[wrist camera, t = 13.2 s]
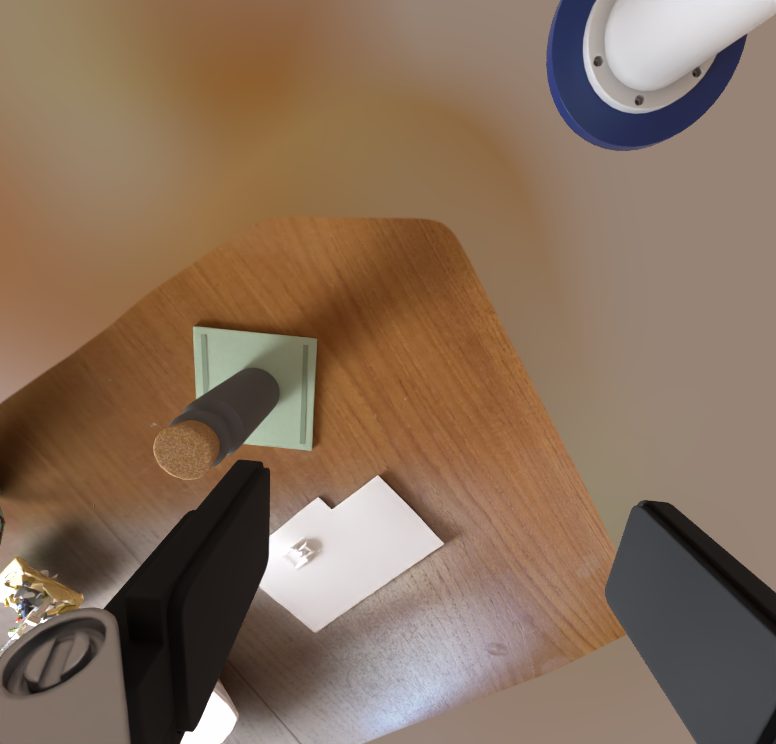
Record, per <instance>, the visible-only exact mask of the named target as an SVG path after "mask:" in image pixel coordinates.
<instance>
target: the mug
mask: <svg viewBox="0 0 776 744" xmlns="http://www.w3.org/2000/svg"><path fill="white" fill-rule="evenodd" d="M0 493H1V489H0ZM4 526H5V520H4V517H3V514H2V511H1V508H0V544H1V540H2V535H3V531H4Z"/></svg>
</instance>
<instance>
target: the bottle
mask: <svg viewBox="0 0 776 744" xmlns="http://www.w3.org/2000/svg"><path fill="white" fill-rule="evenodd" d="M279 396H280V391H279V386H278V384H277V382H276V380H275V379H274V377H273V376H272V375H270V374H269V373H268V372H266V371H264V370H262V369H258V368H247V369H244V370H242V371H240V372H238V373H236V374H235V375H233V376H231V377H230V378H228V379H227V380H225V381H224V382H222V383H221V384H219V385H217V386H216V387H214V388H213V389H211V390H210V391H208V392H207V393H205V394H204V395H202V396H201V397H199V398H198V399H196V400H195V401H193V402H192V403H190V404H189V405H188V406H187V407H186V408H185V410H184V411H183V413H182V414H181V415H180V416H178V417H177V418H175V419H174V420H173V421H172V422H171V423H170V425H169V426H168V427H167V428H165V429H163V430H162V431H161V432H160V433H159V434H158V435H157V437H156V439H155V442H154V455H155V457H156V460H157V462H158V463H159V465H160V466H161V467H162V468H163V469H164V470H165V471H166V472H168V473H169V474H171V475H173V476H175V477H177V478H181V479H196V478H199V477H202V476H203V475H205V474H206V473H207V472H208V471H209V470H210V469H211V468H212V467H214V466H216V465H217V464H219V463H220V462H221V461H222V460H223V459H224V458H225V457H226V456H228V455H230V454H232V453H233V452H235V451H236V450H237V449H238V448H239V447H240V446H241V445H242V444H243V443H244V442H245V441H246V440H247V438H248V437H249V436H250V435H251V434H252V433H253V432H254V431H255V429H256V428H257V427H258V426H259V425H260V424H261V423H262V421H263V420H264V419H265V418H266V417H267V416H268V415H269V413H270V412H271V411H272V410H273V409H274V407H275V406H276V405H277V403H278V400H279Z"/></svg>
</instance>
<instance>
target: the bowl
mask: <svg viewBox="0 0 776 744" xmlns="http://www.w3.org/2000/svg"><path fill="white" fill-rule="evenodd" d="M238 719H239V714H238V712H237V710H236V708H235V706H234V704H233V702H232V701H231V699H230V697H229V695H228V693H227V692H226V690H225V688H224V686H223V684H222V683H221V681H220V679H218V681H217V683H216V685H215V688H214V690H213V692H212V695H211V697H210V699H209V702H208V704H207V706H206V708H205V711H204V713H203V715H202V718H201V720H200V722H199V724H198V726H197V728H196V729H195V730H194V731H193V732H185V734H184V736H183V739H182V741H181V743H180V744H221V743H222V742H223V741H224V740H225V739H226V738H227V737H228V736H229V735H230V733H231V732H232V731H233V730H234V728H235V725H236V723H237V721H238Z"/></svg>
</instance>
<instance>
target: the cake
mask: <svg viewBox="0 0 776 744" xmlns="http://www.w3.org/2000/svg"><path fill="white" fill-rule="evenodd" d="M94 506H95V505H93V507H94ZM34 569H35V568H34ZM34 569H32V568H30V567H29V566H28V564H27V562H26V561H25V560H23V559H22V558H20V557H16V558H15V559H14V560H13V561H12V562H11V563H10V564H9V565H8V566H7V567H6V568H5V570H4V571H3V572H2V573H1V574H0V601H2V602H4V603H5V607H7V606H12V607H14V608H16V609H15V610H16V611H17V612H18V614H19V617H18V618H17V620H16V621H15V622H17V623H18V622H19V621H20V620H21V619H22V618H23V617H26V616H27V615H28V616H27V617H26V619H25V620H24V621H23V622H22V623H21V624H20V625H19V627H18V628H16V629H15V628H14V629H9V632H8V634H9V635H10V638H9V640H8V641H7V642H6V643H5V644H4V645H3V646H2V648H1V649H0V651H1V650H3V649H5V647H8V645H9V643H8V642H10V641H11V640H12V639H16V638H20V637H21V636H22V635H23V633H22V630H23V629H24V628H25V627H26V626H27V625H28V623H29V624H31V625H33V626H35V625H37V624H38V623H39V622H45V621H47V620H49V619H51V618H53V617H55V616H57V615H59V614H63V613H66V612H69V611H73V610H76V609H79V608H80V606H81V605H82V603H83V599H84V596H83V594H82V593H77V592H75V591H74V590H72V589H70V588H68V587H66V586H64V585H62V584H60V583H58V582H57V581H55V580H53V579H55V578H56V577H57V575H58V574H56V575H55V576H54V577H52V578H49V577H47V576H48V570H43V571H41V572H38V571H36V570H34ZM11 638H12V639H11Z"/></svg>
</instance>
